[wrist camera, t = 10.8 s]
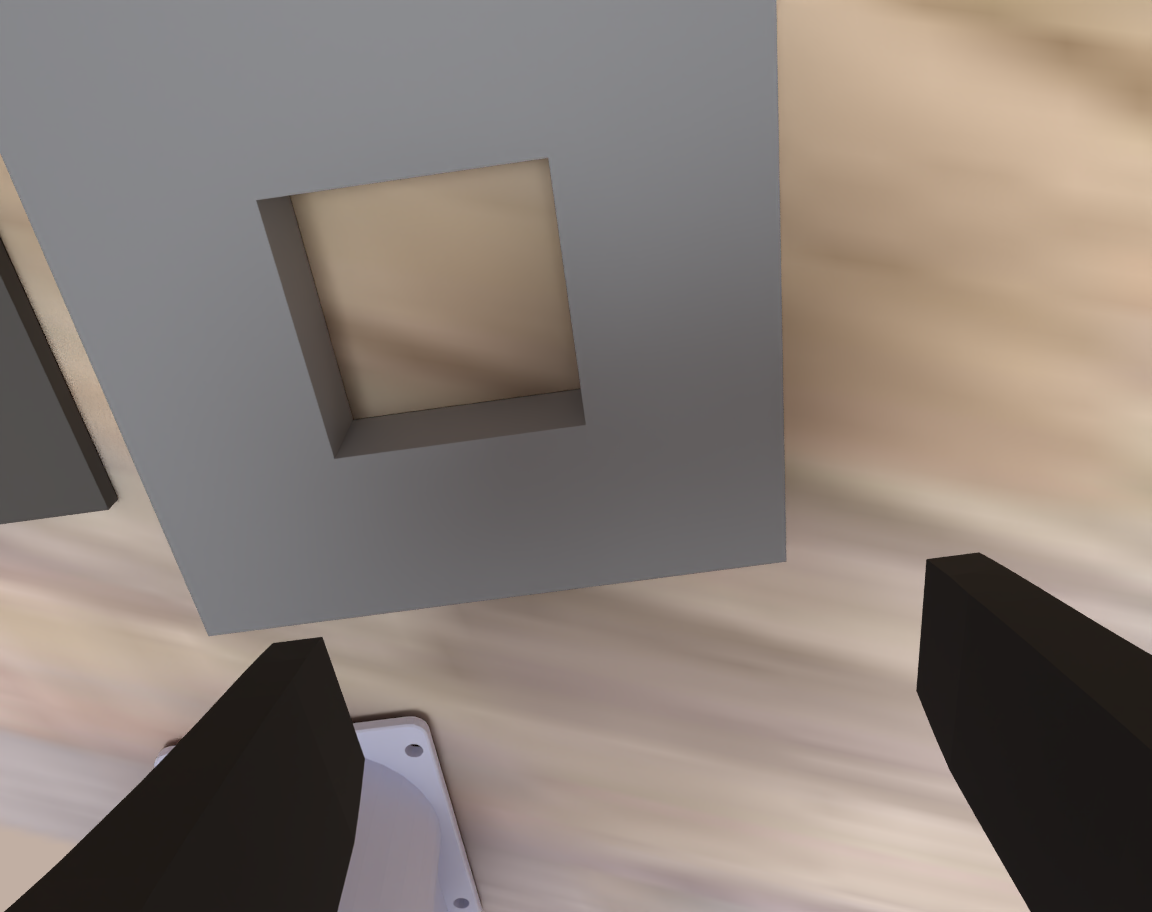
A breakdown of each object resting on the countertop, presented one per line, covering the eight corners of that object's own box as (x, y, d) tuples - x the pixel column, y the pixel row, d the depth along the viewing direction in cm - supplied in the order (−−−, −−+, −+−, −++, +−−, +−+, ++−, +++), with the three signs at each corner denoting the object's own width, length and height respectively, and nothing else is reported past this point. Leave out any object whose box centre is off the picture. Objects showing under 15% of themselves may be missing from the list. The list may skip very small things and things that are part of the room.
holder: (766, 517, 21) (786, 561, 20) (236, 586, 22) (208, 636, 20) (746, -138, 15) (773, -159, 13) (-6, -21, 15) (-78, -27, 14)
